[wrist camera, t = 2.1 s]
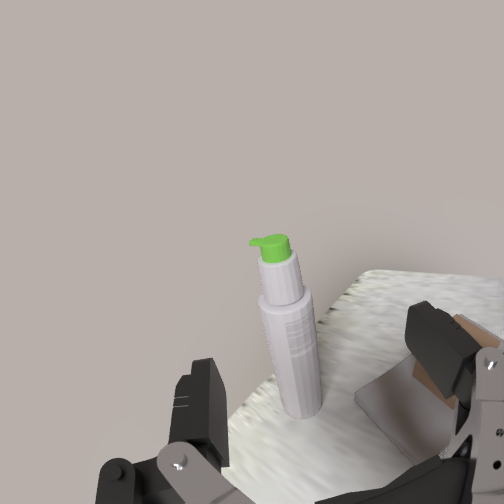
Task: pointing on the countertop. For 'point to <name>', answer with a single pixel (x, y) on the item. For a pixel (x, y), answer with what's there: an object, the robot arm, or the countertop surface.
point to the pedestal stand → (417, 402)
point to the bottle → (289, 326)
